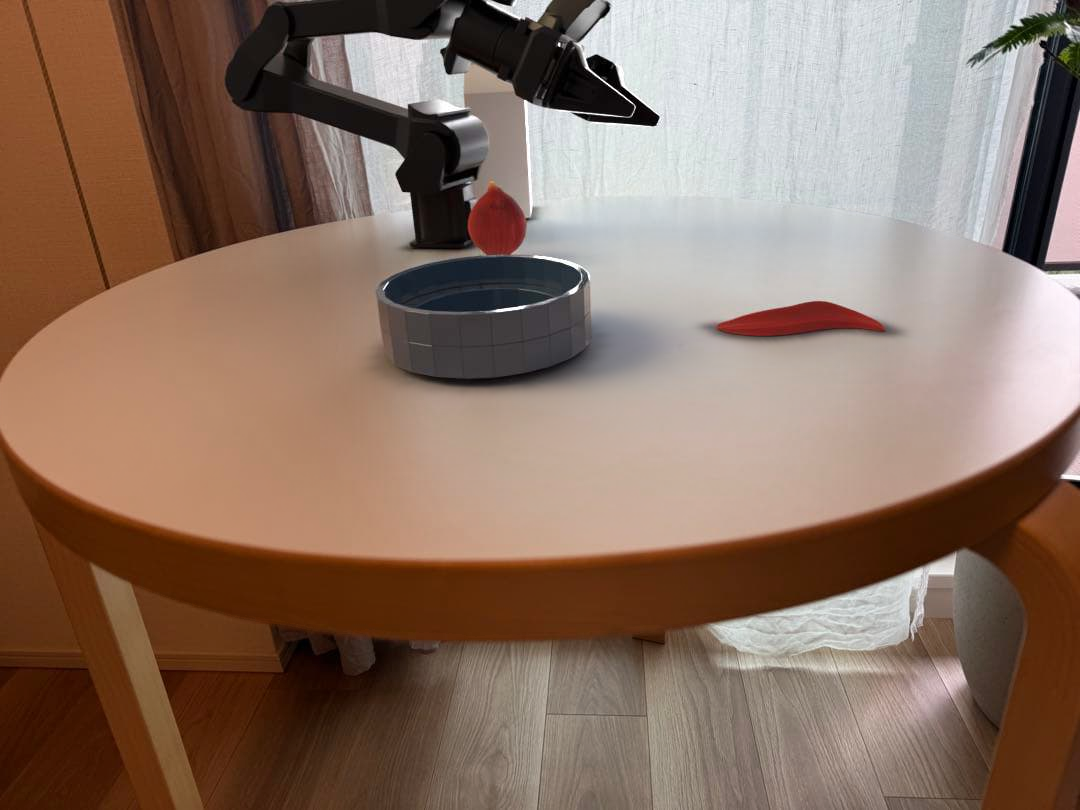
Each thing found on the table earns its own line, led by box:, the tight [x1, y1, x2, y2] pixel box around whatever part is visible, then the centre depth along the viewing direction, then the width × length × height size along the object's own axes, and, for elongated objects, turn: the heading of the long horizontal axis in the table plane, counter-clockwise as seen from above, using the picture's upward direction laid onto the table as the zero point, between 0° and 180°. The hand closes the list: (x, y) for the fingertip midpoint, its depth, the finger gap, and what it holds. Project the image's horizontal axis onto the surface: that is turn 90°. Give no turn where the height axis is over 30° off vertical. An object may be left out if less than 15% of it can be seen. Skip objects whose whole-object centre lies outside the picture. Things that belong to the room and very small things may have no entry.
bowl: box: [374, 254, 592, 380], centre depth 60 cm, size 15×15×5 cm
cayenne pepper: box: [715, 300, 886, 337], centre depth 61 cm, size 12×5×2 cm, turn 73°
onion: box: [468, 181, 527, 255], centre depth 82 cm, size 6×6×8 cm
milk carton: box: [463, 63, 533, 219], centre depth 102 cm, size 7×7×19 cm
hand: (646, 117), depth 77 cm, fingers open, 9 cm apart
